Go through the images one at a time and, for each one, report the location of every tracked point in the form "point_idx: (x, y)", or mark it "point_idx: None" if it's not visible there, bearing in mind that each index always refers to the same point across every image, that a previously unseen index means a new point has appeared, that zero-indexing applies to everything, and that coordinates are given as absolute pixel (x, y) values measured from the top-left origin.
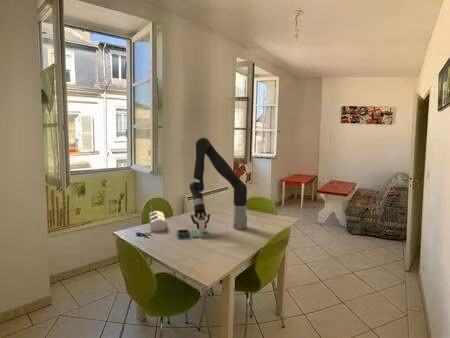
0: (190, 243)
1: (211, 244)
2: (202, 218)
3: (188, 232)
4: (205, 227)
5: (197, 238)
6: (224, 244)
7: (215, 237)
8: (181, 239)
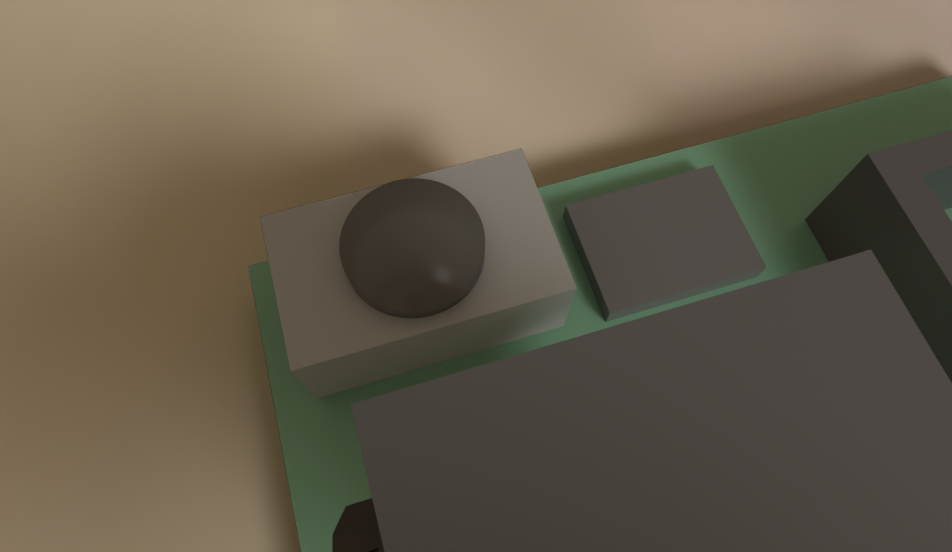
0: (688, 61)
1: (270, 54)
2: (625, 520)
3: (915, 188)
4: None
5: (589, 175)
6: (11, 76)
7: (148, 461)
8: (932, 84)
